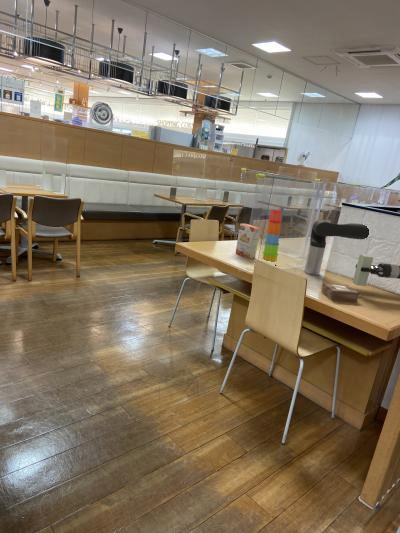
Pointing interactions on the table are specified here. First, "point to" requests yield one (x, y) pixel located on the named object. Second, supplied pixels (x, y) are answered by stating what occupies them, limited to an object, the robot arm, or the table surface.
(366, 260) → the pillar
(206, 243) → the table surface
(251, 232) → the cracker box
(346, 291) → the plinth
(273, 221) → the stacking cups
